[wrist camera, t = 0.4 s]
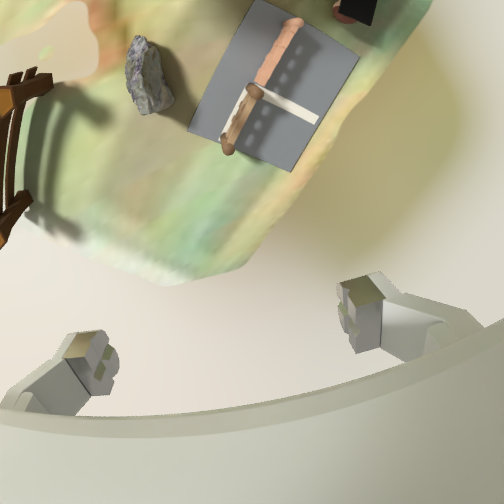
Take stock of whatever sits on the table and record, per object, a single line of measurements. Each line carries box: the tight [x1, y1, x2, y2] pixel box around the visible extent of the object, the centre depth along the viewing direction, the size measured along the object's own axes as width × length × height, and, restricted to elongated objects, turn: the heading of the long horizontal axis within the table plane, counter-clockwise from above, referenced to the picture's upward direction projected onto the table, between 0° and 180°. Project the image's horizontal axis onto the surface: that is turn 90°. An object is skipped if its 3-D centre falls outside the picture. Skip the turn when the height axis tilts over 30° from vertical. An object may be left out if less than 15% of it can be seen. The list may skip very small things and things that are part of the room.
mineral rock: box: [125, 35, 175, 115], centre depth 40 cm, size 13×11×10 cm
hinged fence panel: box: [254, 18, 304, 86], centre depth 41 cm, size 13×2×6 cm, turn 153°
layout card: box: [187, 0, 359, 172], centre depth 49 cm, size 28×22×1 cm
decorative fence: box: [0, 67, 54, 250], centre depth 40 cm, size 34×6×15 cm, turn 152°
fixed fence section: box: [220, 83, 264, 156], centre depth 48 cm, size 12×2×7 cm, turn 153°
